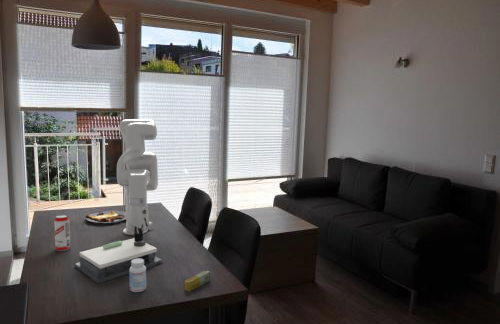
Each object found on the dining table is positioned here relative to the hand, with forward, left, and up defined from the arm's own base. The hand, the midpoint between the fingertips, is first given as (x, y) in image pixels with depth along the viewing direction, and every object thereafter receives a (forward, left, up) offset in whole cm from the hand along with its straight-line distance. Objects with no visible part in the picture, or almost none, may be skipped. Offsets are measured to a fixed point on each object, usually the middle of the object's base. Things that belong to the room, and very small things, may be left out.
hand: (138, 240), depth 181 cm
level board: (+10, 0, -3) cm, 10 cm away
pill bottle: (+16, +25, -9) cm, 31 cm away
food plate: (-18, -64, -9) cm, 67 cm away
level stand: (+10, 0, -8) cm, 13 cm away
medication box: (-3, +38, -9) cm, 39 cm away
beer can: (+20, -34, -9) cm, 40 cm away
